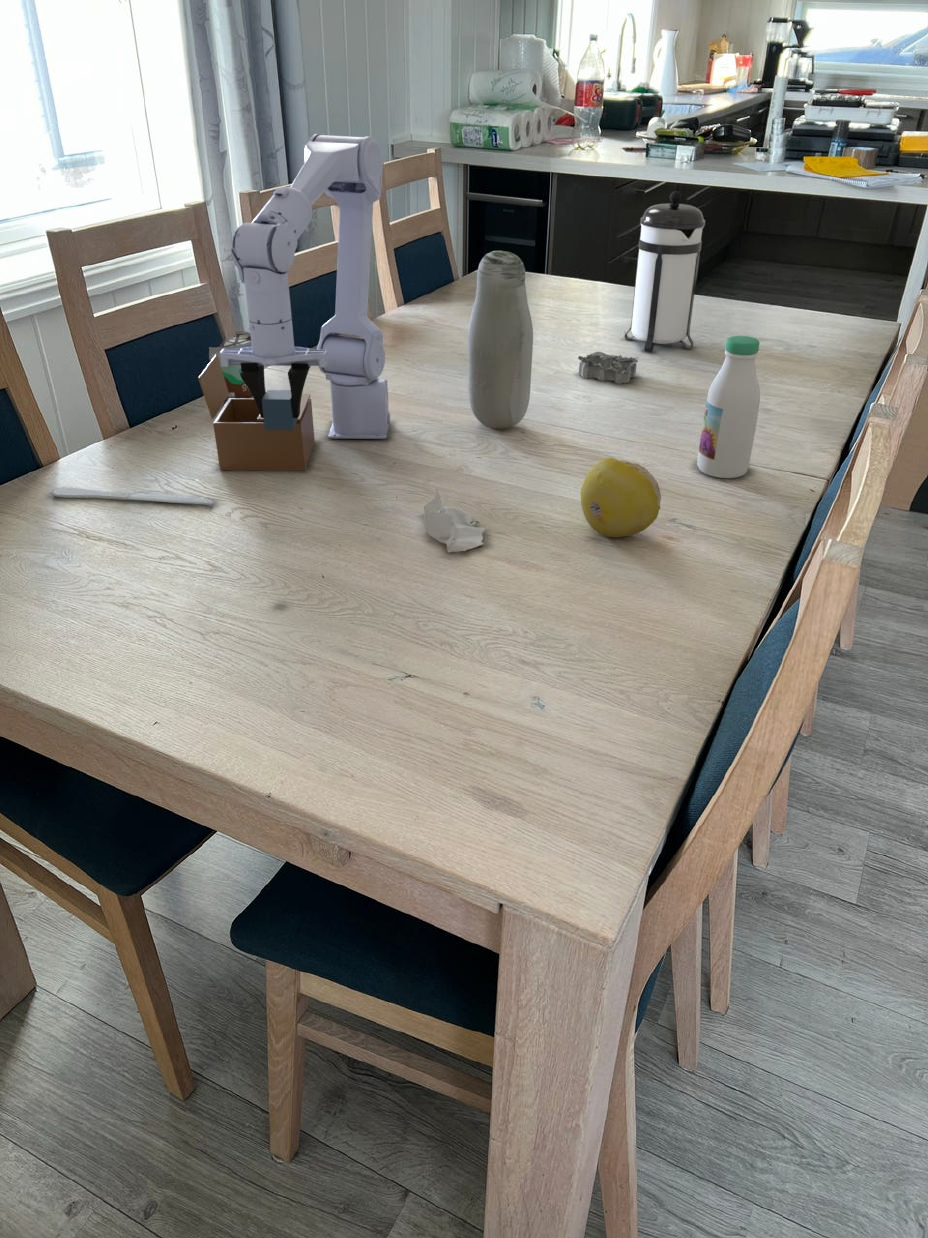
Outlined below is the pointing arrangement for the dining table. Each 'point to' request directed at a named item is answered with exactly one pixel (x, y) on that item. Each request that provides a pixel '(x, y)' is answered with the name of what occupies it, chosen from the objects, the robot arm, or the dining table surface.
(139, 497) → the butter knife
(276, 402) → the block
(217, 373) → the flap
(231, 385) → the food container
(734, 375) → the milk bottle
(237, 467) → the carton
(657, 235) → the coffee press
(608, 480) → the fruit
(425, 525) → the fabric
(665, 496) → the dining table surface
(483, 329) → the grey bottle
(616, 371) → the egg carton
